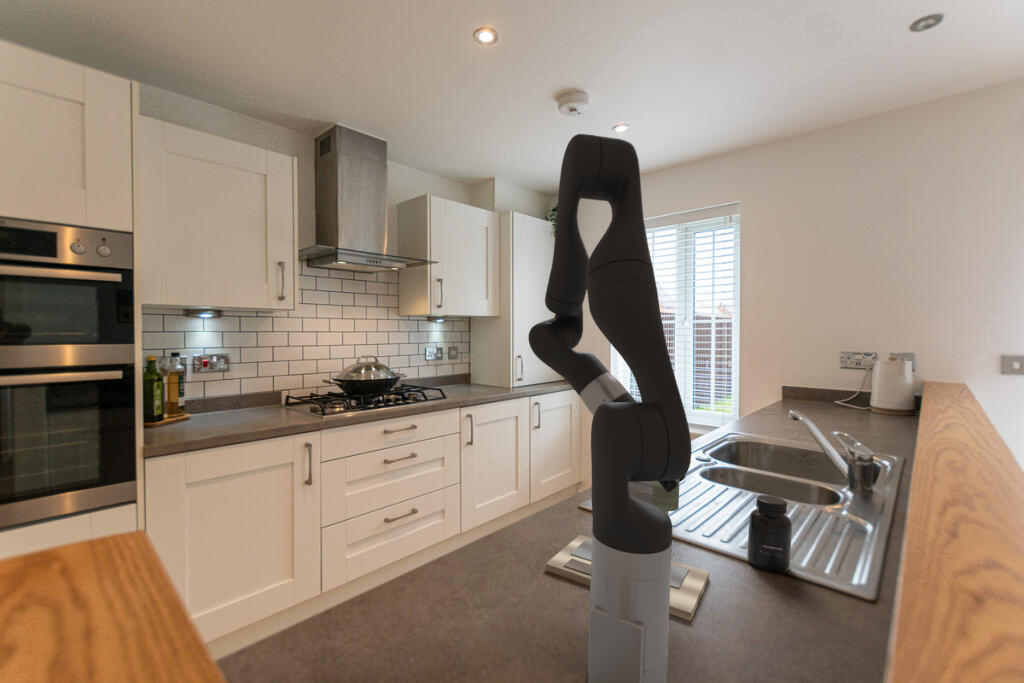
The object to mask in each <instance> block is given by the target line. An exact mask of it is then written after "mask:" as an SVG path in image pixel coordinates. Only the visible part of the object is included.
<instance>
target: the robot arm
mask: <svg viewBox="0 0 1024 683" xmlns="http://www.w3.org/2000/svg"><path fill="white" fill-rule="evenodd" d="M562 158H563V159H562V162H561V168H560V175H559V184H558V194H557V195H558V196H557V197H558V198H557V199H558V200H557V208H556V216H555V218H556V219H555V231H554V246H553V254H552V255H553V257H552V263H551V268H550V273H549V278H548V282H547V285H546V291H545V297H544V303H545V307H546V308H547V309H548V311H549V312H551V313H552V314H555V315H554V317H551V318H549V319H546V320H543V321H541V322H539V323H536V324H534V325H533V326H532V327H531V328H530V330H529V333H528V343H529V347H530V349H531V350H532V352H533V354H534V355H535V356H536V357H537V358H538V360H540V362H542V363H543V364H545V365H546V366H547V367H549V368H550V369H551V370H552V371H554V372H555V373H556V374H558V375H559V376H560V377H562V378H564V379H565V380H566V381H567V382H568V383H569V385H570V386H571V387H572V389H573V390H574V391H575V392H576V394H577V395H578V396H579V397H580V399H581V400H582V402H583V404H584V406H585V407H586V408H587V410H588V411H589V412H590V414H591V415H592V416H593V417H592V421H591V429H590V457H591V458H590V459H591V512H592V513H591V515H592V526H591V527H592V532H591V533H592V534H591V535H592V536H591V538H592V557H591V586H589V589H590V592H589V594H590V595H589V596H590V598H589V620H588V621H589V622H588V623H589V624H588V625H589V627H588V656H587V657H588V662H587V669H588V670H587V674H588V677H587V683H667V682H668V676H667V675H668V663H669V662H668V658H669V655H668V654H669V652H668V651H669V630H670V629H669V627H670V624H669V623H670V614H669V604H670V576H671V561H672V553H673V552H672V550H673V545H672V542H673V524H672V523H673V522H672V519H671V518H670V516H669V514H668V515H667V514H666V513H665V512H664V511H663V510H661V509H660V508H658V507H656V506H654V505H652V504H649V503H647V502H644V501H641V500H638V499H635V498H633V497H631V496H629V489H628V482H640V481H659V483H660V484H661V485H662V486H663V488H664V489H665V490H666V491H667V492H670V491H672V490H673V489H675V488H676V487H677V486H678V482H677V481H676V480H678V479H680V482H679V483H681V482H682V481H683V480H685V478H686V474H687V473H688V471H689V469H690V466H691V462H692V461H691V460H692V451H693V450H692V440H691V432H690V427H689V423H688V419H687V414H686V411H685V407H684V403H683V400H682V396H681V394H680V390H679V386H678V384H677V380H676V376H675V373H674V370H673V369H674V368H673V365H672V362H671V358H670V354H669V351H668V346H667V342H666V336H665V330H664V325H663V320H662V314H661V309H660V308H661V307H660V301H659V293H658V292H659V291H658V287H657V282H656V277H655V272H654V266H653V262H652V261H653V260H652V258H651V254H650V253H651V252H650V250H649V248H650V246H649V244H648V237H647V230H646V225H645V219H644V218H645V217H644V209H643V208H644V207H643V194H642V185H641V183H642V182H641V172H640V171H641V170H640V162H639V161H640V160H639V156H638V153H637V150H636V146H634V144H633V143H631V142H629V141H628V140H625V139H622V138H617V137H610V136H609V137H608V136H600V135H594V134H589V133H588V134H586V133H578V134H575V135H573V136H572V138H570V140H569V141H568V143H567V146H566V148H565V151H564V154H563V157H562ZM581 199H584V200H591V201H592V200H594V201H601V202H602V201H603V202H608V204H609V205H610V209H611V221H610V223H609V225H608V226H607V228H606V231H605V232H604V234H603V235H602V237H601V239H600V240H599V241H598V243H597V244H596V245H595V247H594V249H593V251H592V252H591V254H590V257H589V254H588V250H587V248H586V246H585V242H584V240H583V236H582V234H581V230H580V226H579V218H578V216H579V215H578V211H579V204H580V202H581V201H580V200H581ZM586 294H587V302H588V307H589V313H590V315H591V317H592V320H593V322H594V324H595V325H596V326H597V328H598V329H599V331H600V332H601V333H602V334H603V336H604V337H605V339H606V340H607V341H608V342H609V343H610V344H611V346H612V347H613V348H614V349H615V351H616V352H617V353H618V354H619V356H621V358H622V359H623V360H624V361H625V364H626V365H627V366H628V368H629V369H630V371H631V373H632V375H633V378H634V380H635V382H636V385H637V388H638V391H639V395H640V400H641V402H640V401H639V402H638V401H637V400H636V399H635V398H634V397H633V396H632V394H631V393H630V392H629V391H628V390H627V389H626V387H625V386H624V385H623V384H622V383H621V382H620V381H619V380H618V379H617V378H616V377H615V376H614V375H613V374H612V373H611V371H609V370H608V369H607V367H606V366H605V365H604V364H603V362H602V361H601V360H600V359H599V358H598V357H597V356H596V355H595V354H594V353H593V352H590V351H576V350H574V348H576V347H577V346H578V345H579V343H580V341H581V339H582V337H583V335H584V334H583V332H584V309H583V306H584V301H585V298H586Z"/></svg>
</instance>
